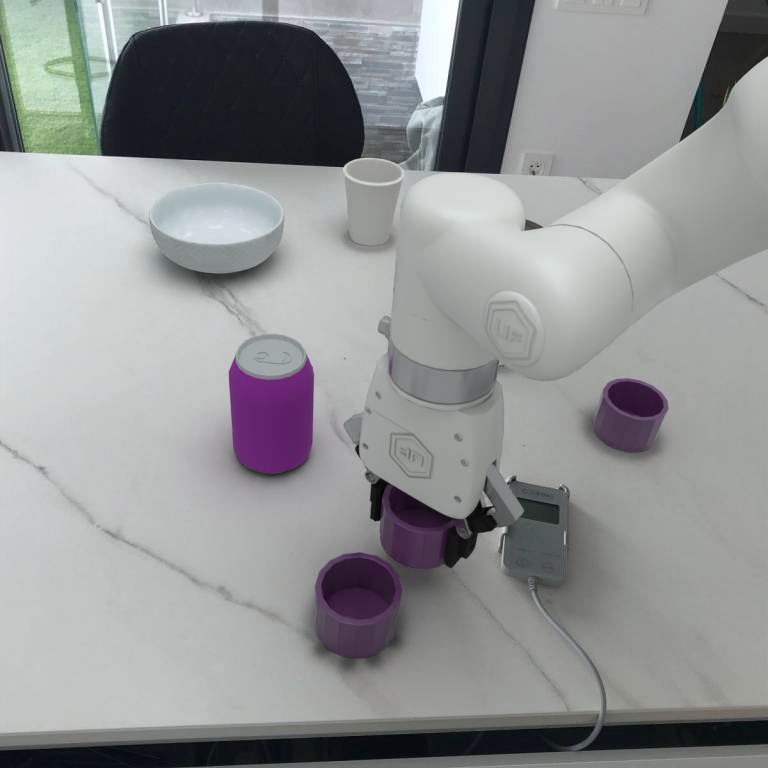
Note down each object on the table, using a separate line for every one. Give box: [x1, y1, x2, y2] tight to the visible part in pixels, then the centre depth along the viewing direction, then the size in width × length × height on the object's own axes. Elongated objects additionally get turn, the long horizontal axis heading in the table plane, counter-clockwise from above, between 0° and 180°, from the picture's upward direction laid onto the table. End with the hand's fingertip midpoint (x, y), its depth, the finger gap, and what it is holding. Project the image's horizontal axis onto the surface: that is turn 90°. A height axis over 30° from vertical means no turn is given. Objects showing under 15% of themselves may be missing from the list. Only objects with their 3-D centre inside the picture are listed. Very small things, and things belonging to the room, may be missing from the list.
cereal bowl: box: [148, 182, 285, 275], centre depth 101 cm, size 17×17×7 cm
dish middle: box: [378, 483, 455, 571], centre depth 63 cm, size 7×7×4 cm
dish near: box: [313, 551, 403, 659], centre depth 61 cm, size 7×7×4 cm
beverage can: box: [228, 333, 315, 475], centre depth 72 cm, size 8×8×12 cm
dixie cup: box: [342, 157, 406, 247], centre depth 108 cm, size 8×8×10 cm
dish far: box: [592, 377, 670, 453], centre depth 81 cm, size 7×7×4 cm
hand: (420, 531), depth 64 cm, fingers closed on dish middle, 6 cm apart
